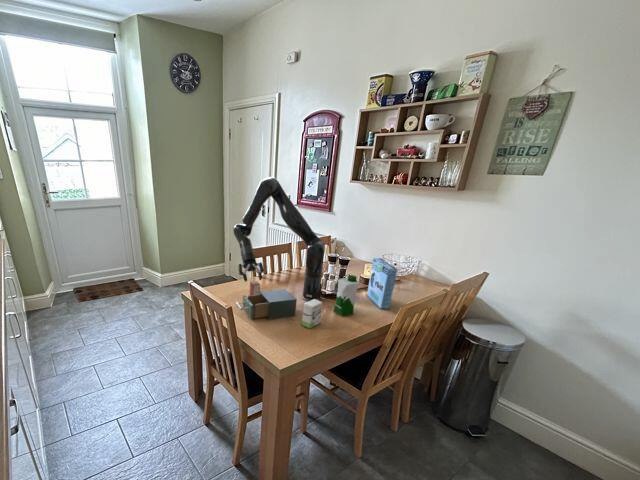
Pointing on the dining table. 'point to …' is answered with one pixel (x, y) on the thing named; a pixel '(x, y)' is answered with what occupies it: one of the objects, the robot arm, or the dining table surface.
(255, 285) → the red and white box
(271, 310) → the cabinet
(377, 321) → the dining table surface
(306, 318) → the ink box
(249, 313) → the drawer
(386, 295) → the light blue box
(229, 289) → the dining table surface
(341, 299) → the milk carton
